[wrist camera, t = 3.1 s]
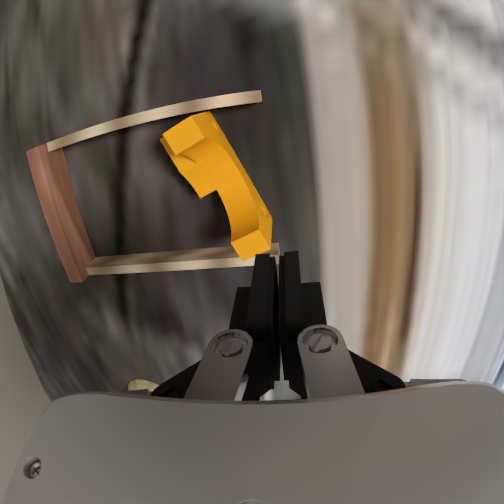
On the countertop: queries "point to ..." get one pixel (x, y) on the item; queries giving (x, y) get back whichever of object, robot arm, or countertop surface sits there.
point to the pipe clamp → (220, 180)
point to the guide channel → (69, 217)
